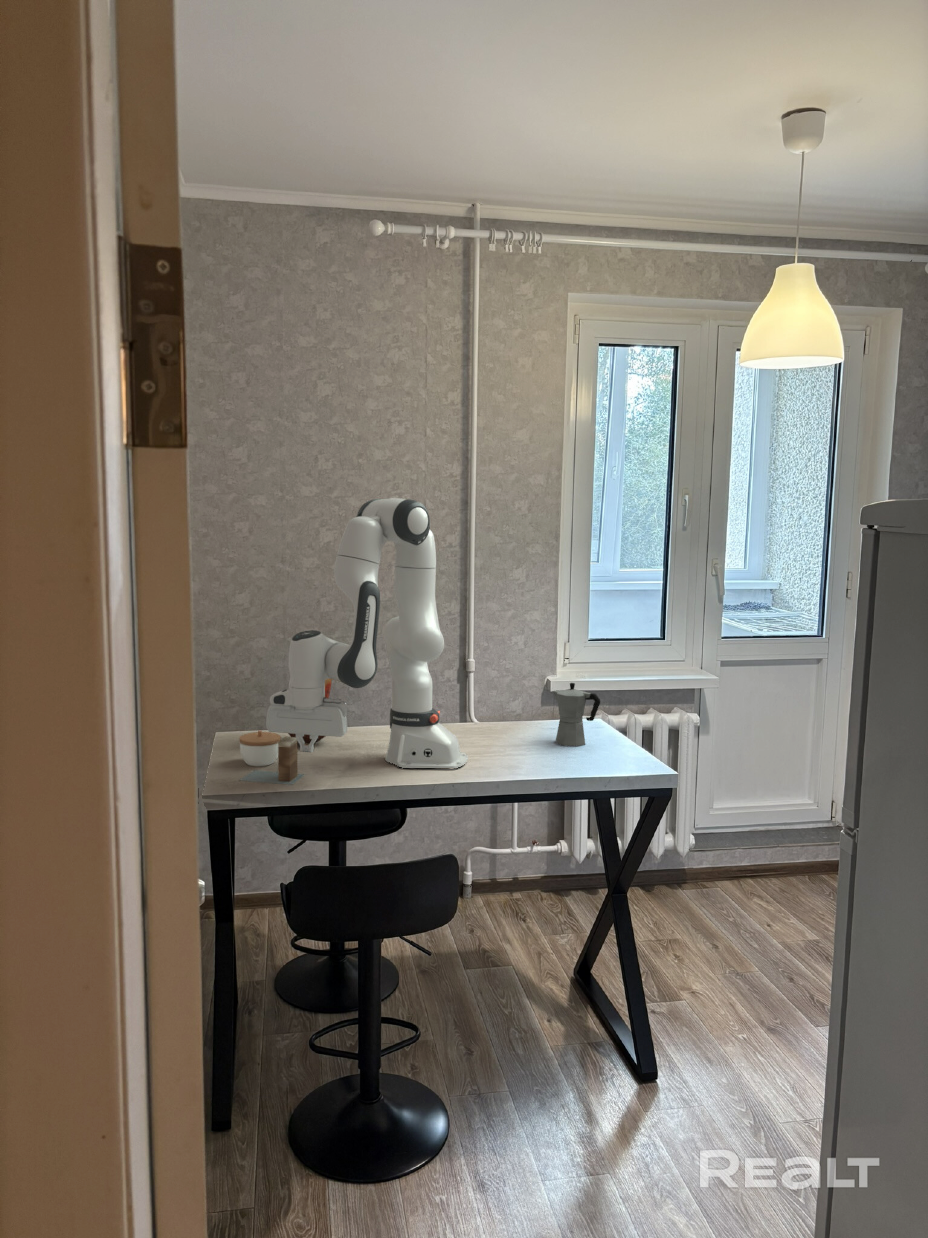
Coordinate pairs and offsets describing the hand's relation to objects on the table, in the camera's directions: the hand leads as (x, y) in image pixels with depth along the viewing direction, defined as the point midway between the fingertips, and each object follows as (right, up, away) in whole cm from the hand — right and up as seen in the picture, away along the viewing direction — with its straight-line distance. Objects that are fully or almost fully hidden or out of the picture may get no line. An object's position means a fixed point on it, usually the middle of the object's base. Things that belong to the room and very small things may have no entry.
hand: (306, 751), depth 231 cm
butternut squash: (-6, -3, +39) cm, 39 cm away
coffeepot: (+72, -4, +44) cm, 84 cm away
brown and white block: (-5, -7, +2) cm, 9 cm away
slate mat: (-9, -8, +3) cm, 12 cm away
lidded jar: (-15, -6, +16) cm, 23 cm away
